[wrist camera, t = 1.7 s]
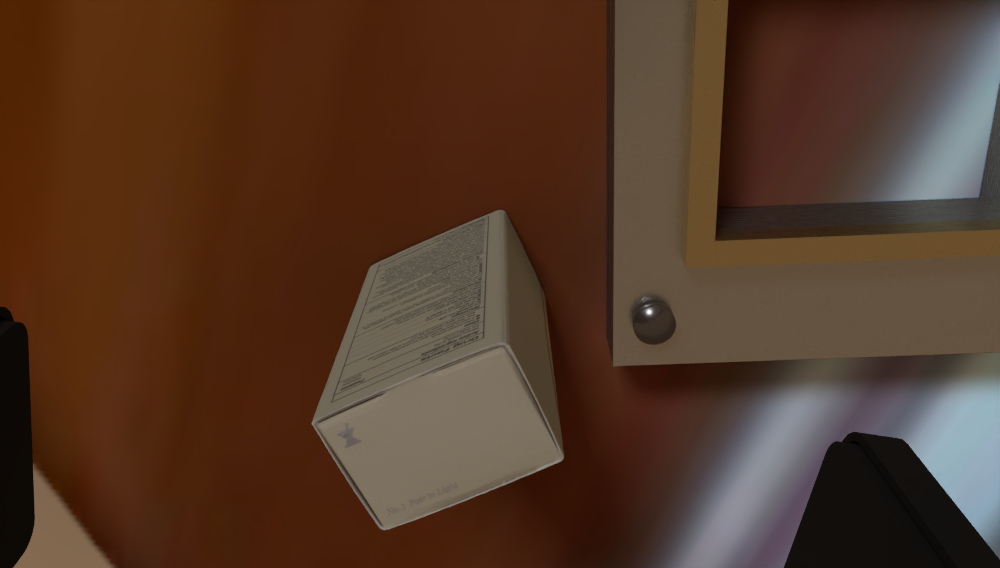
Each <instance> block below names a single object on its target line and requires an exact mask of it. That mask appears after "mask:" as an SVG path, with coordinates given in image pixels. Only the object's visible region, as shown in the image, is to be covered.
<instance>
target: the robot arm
mask: <svg viewBox="0 0 1000 568" xmlns="http://www.w3.org/2000/svg"><path fill="white" fill-rule="evenodd" d="M34 515H35V514H34V487H33V459H32V432H31V404H30V377H29V350H28V334H27V330H26V327H25V325H24V324H22V323H20V322H14V320H13V317H12V315H11V312H10V311H9V310H8V309H7V308H6V307H0V568H13V567H14V566H15V564H16V563H17V562H18V560H19V559H20V557H21V556H22V555H23V553H24V552H25V550H26V548H27V546H28V544H29V541H30V539H31V536H32V533H33V528H34V519H35V516H34ZM784 568H1000V560H999V558H998V557H997V556H996V555H995V553H994V552H993V551H992V549H991V548H990V547H989V546H988V544H987V543H986V542H985V541H984V539H983V538H982V537H981V536H980V534H979V533H978V532H977V531H976V529H975V528H974V527H973V526H972V524H971V523H970V522H969V521H968V519H967V518H966V517H965V516H964V514H963V513H962V512H961V511H960V509H959V508H958V507H957V506H956V504H955V503H954V502H953V500H952V499H951V498H950V497H949V495H948V494H947V493H946V492H945V490H944V489H943V488H942V487H941V485H940V484H939V483H938V482H937V480H936V479H935V478H934V477H933V475H932V474H931V473H930V472H929V470H928V469H927V468H926V467H925V465H924V464H923V463H922V462H921V460H920V459H919V458H918V457H917V455H916V454H915V453H914V452H913V450H912V449H911V448H910V446H909V445H908V444H907V443H906V442H905V441H903V440H902V439H898V438H892V437H885V436H878V435H872V434H865V433H858V432H852V433H850V434H848V435H847V436H846V437H845V438H844V440H843V441H842V442H837V441H836V442H834V443H832V444H831V445H830V446H829V448H828V450H827V452H826V454H825V457H824V460H823V462H822V465H821V468H820V471H819V473H818V476H817V479H816V481H815V484H814V487H813V490H812V492H811V495H810V498H809V501H808V503H807V506H806V509H805V512H804V514H803V517H802V520H801V522H800V525H799V528H798V531H797V533H796V536H795V539H794V542H793V544H792V547H791V550H790V553H789V555H788V558H787V561H786V563H785V566H784Z"/></svg>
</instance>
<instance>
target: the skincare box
mask: <svg viewBox="0 0 1000 568" xmlns="http://www.w3.org/2000/svg"><path fill="white" fill-rule="evenodd" d="M312 425H313V427H314V428H315V430H316V431H317V433H318V434H319V436H320V438H321V440H322V441H323V443H324V445H325V446H326V448H327V449H328V451H329V452H330V454H331V455H332V457H333V459H334V461H335V462H336V464H337V466H338V467H339V469H340V470H341V472H342V473H343V475H344V476H345V478H346V479H347V481H348V482H349V484H350V485H351V487H352V489H353V490H354V492H355V494H356V495H357V496H358V498H359V499H360V501H361V502H362V504H363V505H364V507H365V508H366V510H367V511H368V512H369V514H370V515H371V517H372V518H373V520H374V521H375V523H376V524H377V526H378V527H379V528H380V529H382V530H387V529H391V528H394V527H396V526H399V525H402V524H405V523H408V522H411V521H414V520H417V519H419V518H422V517H425V516H427V515H430V514H432V513H435V512H438V511H440V510H443V509H445V508H448V507H451V506H453V505H456V504H458V503H461V502H464V501H466V500H469V499H471V498H473V497H475V496H478V495H481V494H484V493H487V492H489V491H491V490H494V489H496V488H498V487H501V486H503V485H506V484H508V483H511V482H514V481H516V480H518V479H520V478H523V477H525V476H528V475H530V474H533V473H535V472H537V471H540V470H543V469H545V468H547V467H549V466H552V465H554V464H556V463H559V462H561V461H562V460H563V459H564V451H563V442H562V435H561V428H560V418H559V410H558V402H557V393H556V385H555V377H554V370H553V360H552V353H551V345H550V337H549V328H548V319H547V310H546V300H545V294H544V292H543V289H542V287H541V285H540V283H539V281H538V278H537V276H536V274H535V271H534V269H533V267H532V265H531V263H530V261H529V258H528V256H527V254H526V252H525V250H524V248H523V246H522V244H521V242H520V239H519V237H518V235H517V233H516V231H515V229H514V227H513V225H512V223H511V221H510V219H509V217H508V215H507V213H506V212H505V211H504V210H497V211H495V212H492V213H490V214H487V215H485V216H483V217H480V218H478V219H475V220H473V221H470V222H468V223H466V224H463V225H461V226H459V227H456V228H454V229H452V230H449V231H447V232H445V233H442V234H440V235H438V236H435V237H433V238H431V239H429V240H426V241H424V242H422V243H419V244H417V245H415V246H413V247H410V248H408V249H406V250H404V251H401V252H399V253H397V254H395V255H393V256H391V257H389V258H387V259H384V260H382V261H380V262H378V263H376V264H374V265H372V266H371V267H370V268H369V271H368V273H367V276H366V279H365V281H364V284H363V287H362V290H361V292H360V295H359V298H358V300H357V303H356V306H355V308H354V311H353V314H352V316H351V319H350V321H349V324H348V327H347V330H346V333H345V335H344V338H343V341H342V343H341V346H340V349H339V351H338V354H337V356H336V359H335V362H334V364H333V368H332V370H331V373H330V375H329V378H328V381H327V384H326V386H325V389H324V392H323V394H322V397H321V399H320V402H319V404H318V407H317V410H316V413H315V415H314V418H313V421H312Z"/></svg>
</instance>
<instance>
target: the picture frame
mask: <svg viewBox="0 0 1000 568" xmlns="http://www.w3.org/2000/svg"><path fill="white" fill-rule="evenodd" d="M727 14H728V0H607V341H608V346H609V350H610V355H611V359H612V364H613V366H631V365H659V364H687V363H715V362H742V361H770V360H798V359H825V358H853V357H881V356H909V355H936V354H964V353H992V352H1000V85H999V91H998V96H997V102H996V107H995V113H994V118H993V124H992V129H991V135H990V141H989V146H988V152H987V157H986V163H985V168H984V174H983V180H982V185H981V191H980V196H979V198H963V199H939V200H914V201H890V202H865V203H841V204H816V205H792V206H767V207H743V208H718V209H717V196H718V178H719V160H720V142H721V124H722V105H723V87H724V69H725V51H726V32H727Z"/></svg>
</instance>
